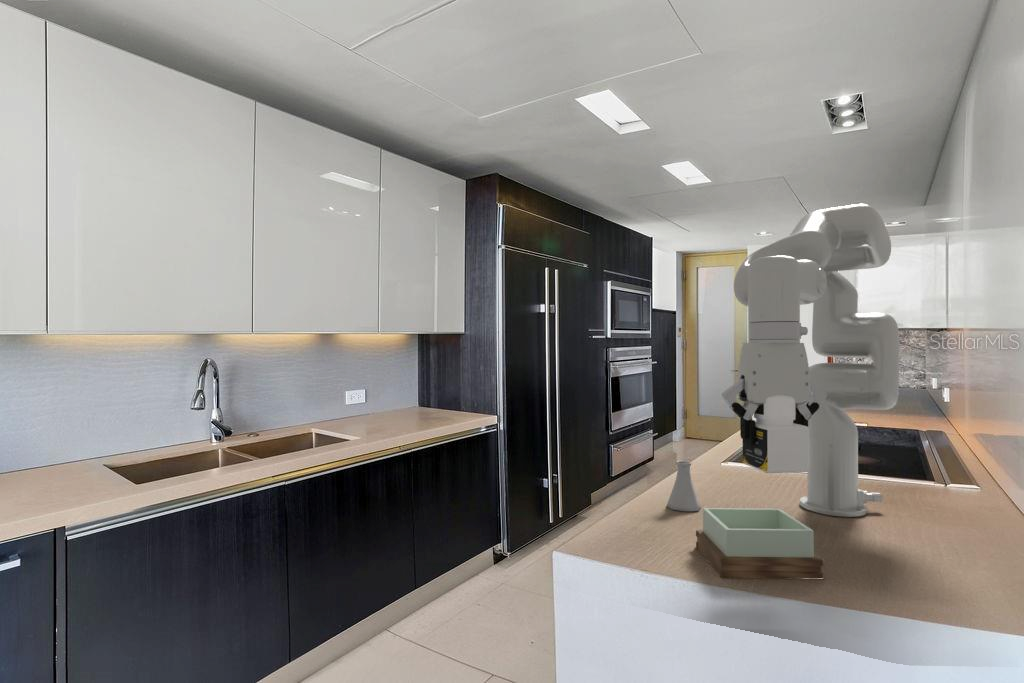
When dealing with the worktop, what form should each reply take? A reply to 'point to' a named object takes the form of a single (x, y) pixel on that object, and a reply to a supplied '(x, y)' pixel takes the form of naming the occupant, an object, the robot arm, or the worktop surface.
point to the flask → (683, 490)
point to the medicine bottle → (778, 439)
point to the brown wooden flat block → (758, 563)
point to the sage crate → (757, 533)
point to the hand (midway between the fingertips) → (774, 443)
